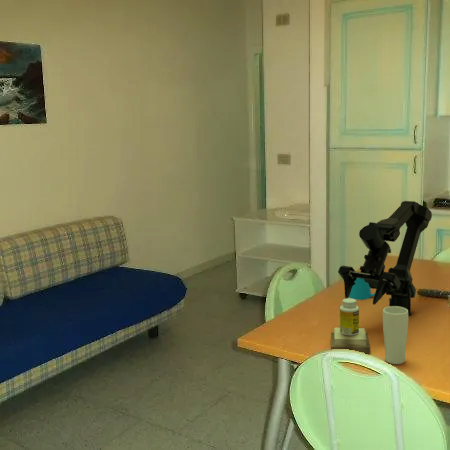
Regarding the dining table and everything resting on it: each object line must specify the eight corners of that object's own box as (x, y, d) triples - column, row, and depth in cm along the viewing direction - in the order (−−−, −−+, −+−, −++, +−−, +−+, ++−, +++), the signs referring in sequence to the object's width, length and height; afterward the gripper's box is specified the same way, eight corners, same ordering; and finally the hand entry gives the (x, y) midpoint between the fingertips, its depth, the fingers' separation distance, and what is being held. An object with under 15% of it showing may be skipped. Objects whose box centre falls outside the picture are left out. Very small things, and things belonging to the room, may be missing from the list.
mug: (346, 298, 218) (345, 277, 217) (351, 292, 225) (351, 271, 224) (378, 301, 213) (378, 280, 211) (382, 294, 220) (383, 274, 219)
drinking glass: (379, 357, 166) (379, 306, 163) (402, 355, 167) (402, 305, 164) (387, 367, 160) (387, 315, 157) (411, 365, 160) (412, 313, 157)
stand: (367, 339, 179) (367, 326, 179) (370, 353, 169) (370, 340, 168) (331, 338, 181) (331, 326, 181) (331, 353, 171) (331, 340, 170)
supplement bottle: (354, 337, 171) (354, 304, 169) (337, 334, 174) (336, 301, 172) (361, 331, 175) (361, 298, 173) (344, 328, 178) (344, 296, 176)
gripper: (412, 274, 182) (397, 319, 176) (358, 266, 194) (342, 308, 189) (401, 256, 175) (385, 302, 169) (346, 249, 187) (328, 291, 181)
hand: (359, 301), depth 177 cm, fingers open, 9 cm apart
